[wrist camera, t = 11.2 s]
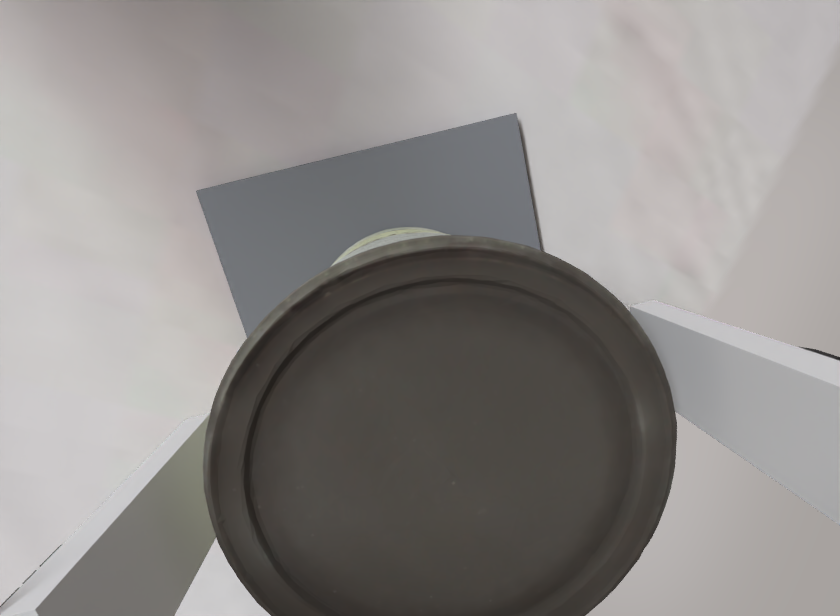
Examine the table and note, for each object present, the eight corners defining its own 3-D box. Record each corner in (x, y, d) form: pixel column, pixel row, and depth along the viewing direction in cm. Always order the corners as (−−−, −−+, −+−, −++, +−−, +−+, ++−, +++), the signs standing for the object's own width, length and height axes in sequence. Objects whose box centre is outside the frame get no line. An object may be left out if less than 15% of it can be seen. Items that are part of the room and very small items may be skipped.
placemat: (512, 115, 22) (516, 112, 21) (569, 430, 26) (573, 435, 25) (201, 191, 21) (195, 190, 21) (308, 500, 25) (306, 507, 25)
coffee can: (541, 292, 23) (772, 401, 9) (436, 443, 25) (507, 731, 11) (378, 183, 21) (372, 121, 8) (274, 353, 23) (109, 564, 9)
